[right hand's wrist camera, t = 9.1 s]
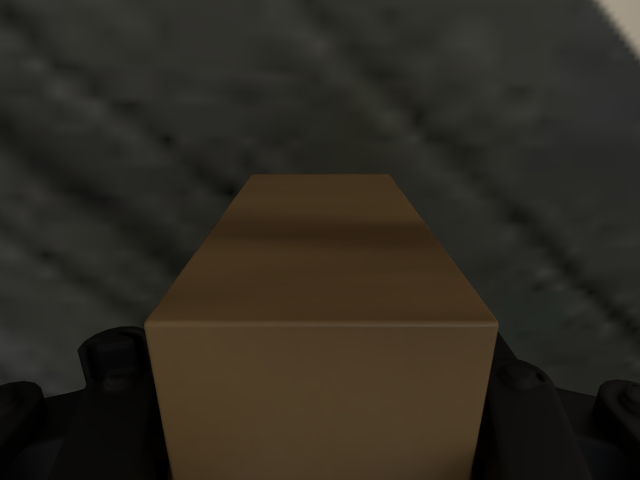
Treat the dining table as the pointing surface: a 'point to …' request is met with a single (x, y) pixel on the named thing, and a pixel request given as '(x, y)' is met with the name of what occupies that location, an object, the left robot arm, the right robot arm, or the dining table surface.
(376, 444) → the bar
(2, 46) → the dining table surface
